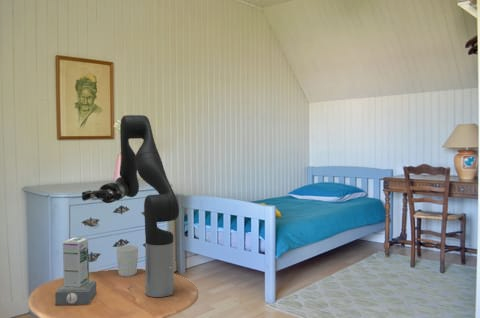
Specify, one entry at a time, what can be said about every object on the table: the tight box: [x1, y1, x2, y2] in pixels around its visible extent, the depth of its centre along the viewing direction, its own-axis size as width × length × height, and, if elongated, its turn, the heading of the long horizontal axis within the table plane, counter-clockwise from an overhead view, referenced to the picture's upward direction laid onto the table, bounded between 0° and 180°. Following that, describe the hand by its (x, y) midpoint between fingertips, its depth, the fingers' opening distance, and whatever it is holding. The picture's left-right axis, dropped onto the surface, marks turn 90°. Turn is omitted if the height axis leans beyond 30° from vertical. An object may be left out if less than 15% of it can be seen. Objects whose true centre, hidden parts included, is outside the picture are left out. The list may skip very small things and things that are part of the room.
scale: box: [54, 280, 97, 306], centre depth 141 cm, size 10×11×4 cm
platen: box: [59, 279, 93, 291], centre depth 142 cm, size 8×8×1 cm
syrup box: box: [62, 237, 90, 287], centre depth 141 cm, size 6×6×14 cm
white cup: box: [116, 244, 139, 277], centre depth 167 cm, size 8×8×10 cm
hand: (95, 198), depth 158 cm, fingers open, 8 cm apart
